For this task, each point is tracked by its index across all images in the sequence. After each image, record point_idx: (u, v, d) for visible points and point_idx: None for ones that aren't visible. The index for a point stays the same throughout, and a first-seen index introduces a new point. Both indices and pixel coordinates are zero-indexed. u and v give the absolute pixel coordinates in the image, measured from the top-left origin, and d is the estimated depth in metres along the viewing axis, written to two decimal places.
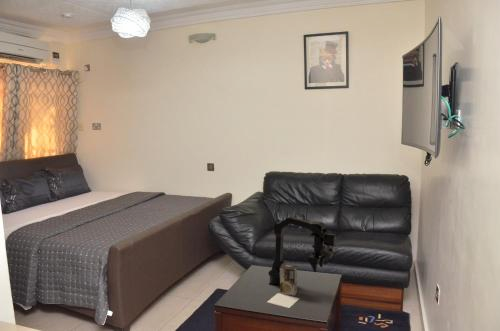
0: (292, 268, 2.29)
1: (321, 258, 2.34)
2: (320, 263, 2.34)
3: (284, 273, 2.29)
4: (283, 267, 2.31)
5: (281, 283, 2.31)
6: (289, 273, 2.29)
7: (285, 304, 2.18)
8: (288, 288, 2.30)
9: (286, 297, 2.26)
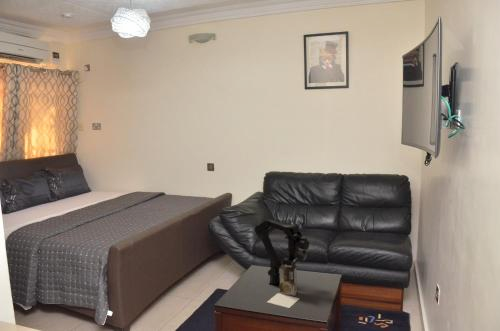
0: (292, 269, 2.28)
1: None
2: None
3: (284, 274, 2.29)
4: (283, 268, 2.30)
5: (281, 283, 2.30)
6: (289, 274, 2.28)
7: (285, 304, 2.18)
8: (288, 289, 2.29)
9: (286, 297, 2.26)
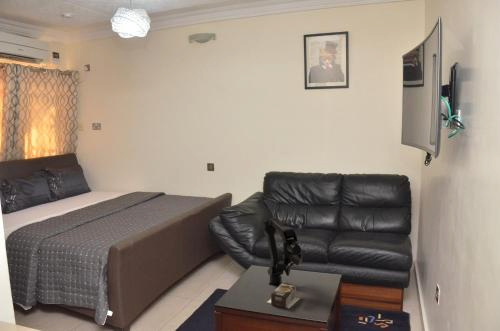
0: (283, 304, 2.14)
1: None
2: None
3: None
4: (274, 302, 2.16)
5: None
6: None
7: None
8: None
9: None
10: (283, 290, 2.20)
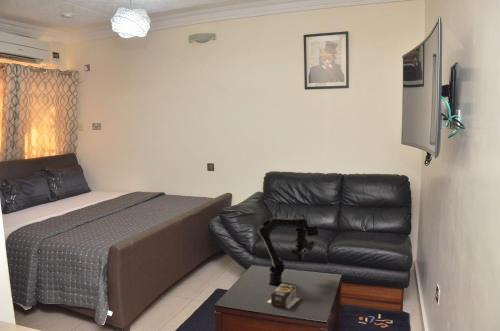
0: (283, 304, 2.14)
1: None
2: None
3: None
4: (274, 302, 2.16)
5: None
6: None
7: None
8: None
9: None
10: (283, 290, 2.20)
